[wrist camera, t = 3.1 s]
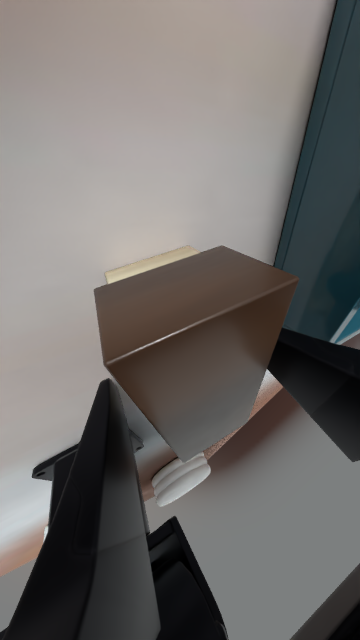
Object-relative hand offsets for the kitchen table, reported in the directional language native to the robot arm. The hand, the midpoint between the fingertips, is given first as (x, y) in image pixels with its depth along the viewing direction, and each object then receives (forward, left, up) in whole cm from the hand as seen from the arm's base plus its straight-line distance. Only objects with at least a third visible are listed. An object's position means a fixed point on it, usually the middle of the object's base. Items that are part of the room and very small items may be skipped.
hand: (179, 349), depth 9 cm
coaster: (-32, +5, -2) cm, 32 cm away
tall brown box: (0, 0, -2) cm, 2 cm away
